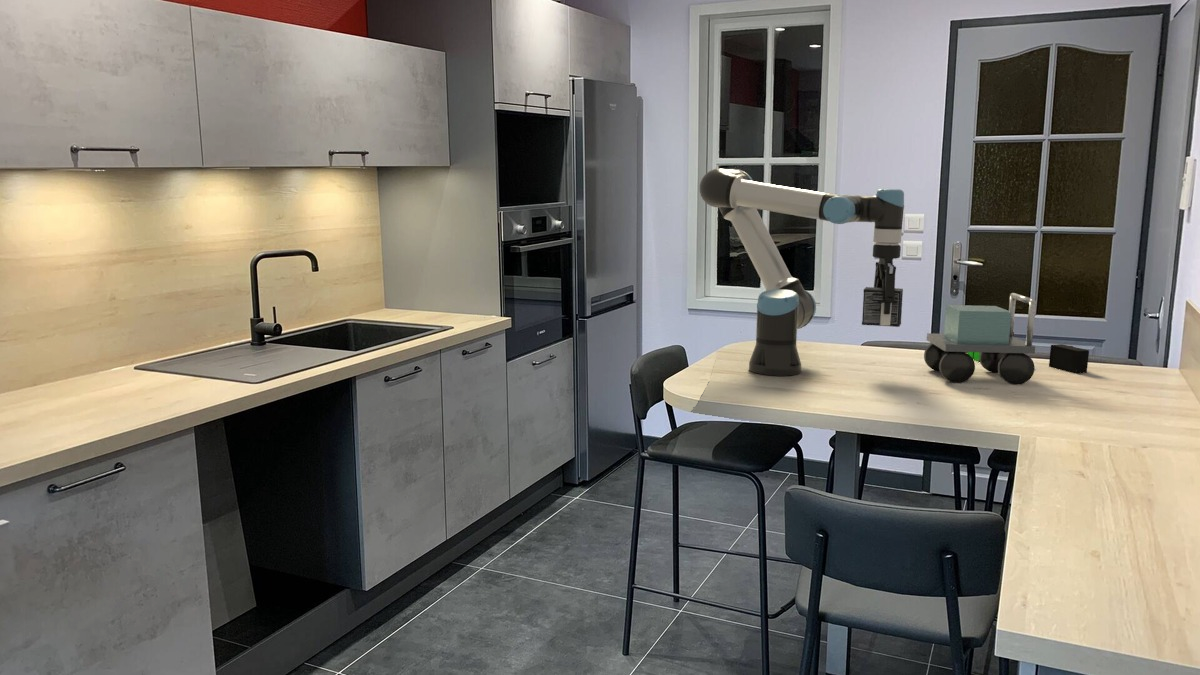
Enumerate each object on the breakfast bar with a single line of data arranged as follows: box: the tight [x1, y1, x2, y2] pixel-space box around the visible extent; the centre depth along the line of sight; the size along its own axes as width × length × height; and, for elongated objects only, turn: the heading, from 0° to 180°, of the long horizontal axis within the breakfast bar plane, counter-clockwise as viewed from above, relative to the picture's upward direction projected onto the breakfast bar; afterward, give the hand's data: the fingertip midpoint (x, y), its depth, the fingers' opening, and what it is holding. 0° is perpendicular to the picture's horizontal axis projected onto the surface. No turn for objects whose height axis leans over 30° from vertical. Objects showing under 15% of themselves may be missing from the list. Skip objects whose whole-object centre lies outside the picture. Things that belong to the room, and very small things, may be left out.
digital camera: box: [1048, 343, 1090, 375], centre depth 265 cm, size 10×5×7 cm, turn 17°
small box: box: [861, 286, 904, 328], centre depth 254 cm, size 11×6×10 cm, turn 67°
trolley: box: [923, 292, 1037, 386], centre depth 252 cm, size 25×18×24 cm
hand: (881, 322), depth 255 cm, fingers closed on small box, 8 cm apart
